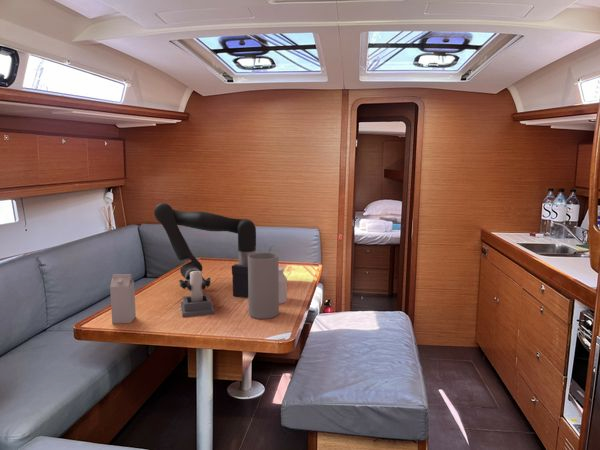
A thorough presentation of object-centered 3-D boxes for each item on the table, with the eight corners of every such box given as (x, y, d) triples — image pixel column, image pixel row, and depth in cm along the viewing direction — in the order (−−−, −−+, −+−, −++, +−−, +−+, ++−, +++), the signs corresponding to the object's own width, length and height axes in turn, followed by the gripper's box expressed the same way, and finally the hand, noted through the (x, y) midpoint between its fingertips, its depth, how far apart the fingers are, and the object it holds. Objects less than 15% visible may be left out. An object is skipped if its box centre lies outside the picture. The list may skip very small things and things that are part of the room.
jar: (260, 303, 197) (259, 270, 195) (263, 296, 207) (263, 265, 205) (285, 304, 196) (285, 271, 194) (288, 297, 206) (288, 266, 204)
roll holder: (210, 302, 198) (210, 292, 198) (214, 313, 183) (214, 303, 183) (180, 305, 195) (180, 295, 194) (182, 317, 179) (182, 306, 179)
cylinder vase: (281, 318, 178) (281, 258, 175) (251, 321, 175) (250, 260, 171) (274, 308, 190) (274, 252, 187) (246, 311, 187) (245, 253, 183)
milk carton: (118, 317, 179) (115, 272, 176) (135, 317, 179) (133, 272, 177) (112, 323, 172) (109, 276, 169) (130, 323, 172) (128, 276, 170)
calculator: (257, 296, 207) (256, 265, 205) (253, 298, 203) (252, 267, 201) (236, 294, 211) (235, 263, 209) (232, 296, 207) (231, 265, 205)
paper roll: (202, 301, 192) (201, 270, 190) (203, 305, 187) (202, 273, 185) (190, 302, 190) (189, 271, 188) (191, 306, 185) (190, 274, 183)
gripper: (177, 270, 198) (179, 280, 182) (209, 268, 203) (213, 277, 187) (178, 286, 199) (179, 297, 183) (209, 284, 204) (214, 294, 188)
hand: (196, 287), depth 185 cm, fingers closed on paper roll, 4 cm apart
